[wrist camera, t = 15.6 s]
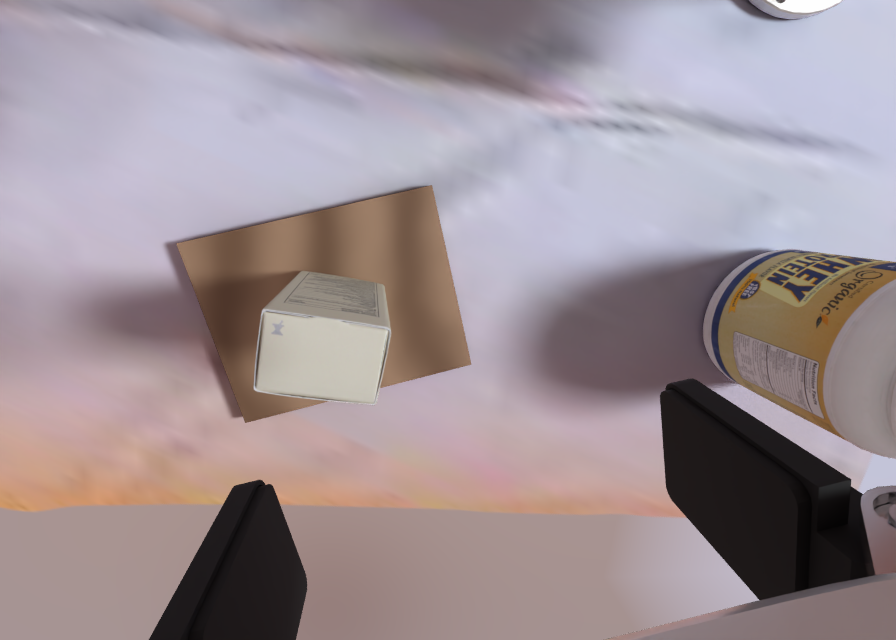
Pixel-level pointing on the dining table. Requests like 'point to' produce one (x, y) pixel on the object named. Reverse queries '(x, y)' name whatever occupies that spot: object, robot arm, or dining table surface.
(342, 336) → the skincare box
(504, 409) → the dining table surface
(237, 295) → the walnut board
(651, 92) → the dining table surface
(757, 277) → the supplement tub
